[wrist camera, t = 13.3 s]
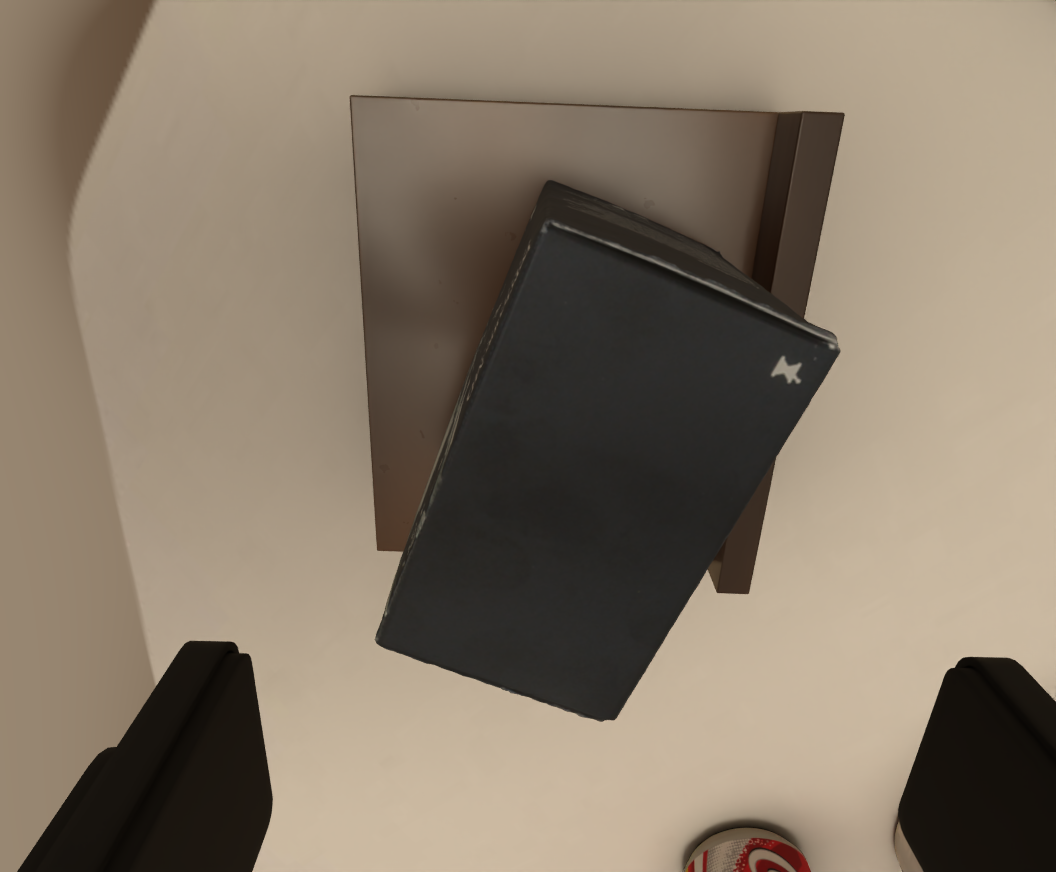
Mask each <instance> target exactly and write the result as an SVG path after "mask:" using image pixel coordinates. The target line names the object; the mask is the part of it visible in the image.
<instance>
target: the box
mask: <svg viewBox="0 0 1056 872" xmlns="http://www.w3.org/2000/svg"><path fill="white" fill-rule="evenodd" d="M839 353H840V348H839V347H838V343H837V338H836V336H835V335H834V334H833V333H832V332H830V331H828V330H825V329H822V328H820V327H817V326H815V325H813V324H811V323H808V322H807V321H806V320H805V319H804V318H802V317H801V316H799V315H798V314H797V313H795V312H794V311H793V310H792V309H791V308H790V307H789V306H787V305H786V304H785V303H783V302H782V301H780V300H779V299H778V298H776V297H775V296H774V295H773V294H771V293H770V292H768V291H767V290H765V289H764V287H762V286H761V285H759V284H758V283H757V282H755V281H754V280H753V279H751V278H750V277H748V276H747V275H746V274H744V273H743V272H742V271H740V270H738V269H737V268H736V267H735V266H734V265H732V264H731V263H730V262H728V261H727V260H726V259H724V258H723V256H722V255H721V254H720V251H718V252H716V251H715V250H714V249H712V248H710V247H708V246H706V245H704V244H701V243H699V242H696V241H695V240H693V239H691V238H689V237H687V236H684V235H682V234H680V233H677V232H675V231H673V230H671V229H669V228H667V227H665V226H663V225H660V224H658V223H655V222H653V221H651V220H649V219H647V218H645V217H642V216H640V215H638V214H636V213H634V212H630V211H627V210H625V209H623V208H620V207H618V206H616V205H614V204H612V203H609V202H607V201H604V200H602V199H599V198H597V197H594V196H592V195H589V194H587V193H584V192H581V191H578V190H575V189H573V188H571V187H569V186H566V185H563V184H560V183H558V182H555V181H553V180H548V181H547V182H546V183H545V185H544V187H543V189H542V191H541V194H540V196H539V198H538V201H537V203H536V206H535V208H534V210H533V212H532V215H531V217H530V220H529V222H528V224H527V226H526V229H525V232H524V234H523V236H522V239H521V241H520V244H519V247H518V249H517V250H516V253H515V256H514V259H513V261H512V263H511V266H510V269H509V271H508V273H507V276H506V278H505V281H504V283H503V286H502V288H501V290H500V293H499V296H498V298H497V301H496V303H495V305H494V308H493V310H492V313H491V315H490V318H489V321H488V323H487V326H486V328H485V330H484V333H483V335H482V338H481V340H480V343H479V345H478V347H477V350H476V353H475V355H474V358H473V361H472V363H471V365H470V368H469V371H468V373H467V376H466V378H465V381H464V384H463V387H462V389H461V392H460V395H459V397H458V400H457V403H456V405H455V408H454V411H453V413H452V416H451V418H450V421H449V424H448V427H447V430H446V432H445V435H444V438H443V440H442V443H441V446H440V449H439V452H438V454H437V457H436V460H435V463H434V466H433V468H432V471H431V474H430V477H429V480H428V482H427V485H426V488H425V491H424V493H423V496H422V499H421V502H420V505H419V507H418V510H417V513H416V516H415V519H414V522H413V525H412V528H411V531H410V534H409V537H408V540H407V543H406V546H405V549H404V551H403V554H402V557H401V560H400V563H399V566H398V570H397V573H396V575H395V578H394V581H393V584H392V588H391V591H390V594H389V597H388V600H387V604H386V607H385V611H384V614H383V617H382V621H381V623H380V626H379V628H378V631H377V634H376V637H375V641H376V643H377V644H378V645H380V646H381V647H383V648H385V649H388V650H391V651H394V652H397V653H399V654H403V655H406V656H408V657H411V658H413V659H416V660H419V661H421V662H424V663H427V664H432V665H436V666H438V667H441V668H443V669H446V670H449V671H452V672H455V673H458V674H460V675H462V676H466V677H470V678H473V679H476V680H479V681H481V682H484V683H486V684H490V685H493V686H496V687H499V688H501V689H503V690H505V691H509V692H510V693H514V694H519V695H521V696H526V697H530V698H532V699H534V700H537V701H539V702H543V703H547V704H548V705H551V706H554V707H558V708H561V709H563V710H565V711H568V712H573V713H576V714H577V715H579V716H580V717H585V718H591V719H595V720H597V721H601V722H603V721H604V720H615V719H616V718H617V716H618V715H619V713H620V711H621V710H622V708H623V707H624V705H625V703H626V701H627V700H628V698H629V696H630V695H631V693H632V692H633V690H634V689H635V687H636V685H637V684H638V682H639V680H640V679H641V677H642V675H643V674H644V673H645V671H646V669H647V667H648V665H649V664H650V662H651V661H652V659H653V658H654V656H655V654H656V652H657V651H658V649H659V648H660V646H661V644H662V643H663V641H664V639H665V638H666V636H667V634H668V632H669V631H670V629H671V628H672V626H673V625H674V623H675V622H676V620H677V618H678V617H679V615H680V613H681V612H682V610H683V609H684V607H685V605H686V604H687V602H688V600H689V598H690V597H691V595H692V594H693V592H694V591H695V589H696V588H697V586H698V584H699V583H700V581H701V579H702V578H703V576H704V574H705V573H706V571H707V569H708V567H709V566H710V564H711V563H712V561H713V560H714V558H715V557H716V555H717V553H718V552H719V550H720V548H721V547H722V545H723V543H724V542H725V540H726V539H727V537H728V535H729V534H730V532H731V531H732V529H733V527H734V526H735V524H736V522H737V521H738V519H739V517H740V516H741V514H742V512H743V511H744V509H745V507H746V506H747V504H748V503H749V501H750V499H751V498H752V496H753V495H754V493H755V491H756V489H757V488H758V486H759V484H760V483H761V481H762V480H763V478H764V476H765V475H766V473H767V472H768V470H769V468H770V467H771V465H772V463H773V462H774V460H775V458H776V456H777V455H778V454H779V452H780V450H781V448H782V447H783V445H784V443H785V442H786V440H787V438H788V437H789V435H790V434H791V432H792V431H793V429H794V427H795V426H796V424H797V423H798V421H799V419H800V418H801V416H802V414H803V413H804V411H805V409H806V408H807V407H808V405H809V403H810V401H811V399H812V397H813V396H814V394H815V393H816V391H817V390H818V388H819V387H820V385H821V383H822V382H823V380H824V379H825V377H826V375H827V374H828V372H829V370H830V368H831V367H832V365H833V363H834V362H835V360H836V358H837V357H838V355H839Z"/></svg>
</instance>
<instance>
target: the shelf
mask: <svg viewBox="0 0 1056 872" xmlns="http://www.w3.org/2000/svg"><path fill="white" fill-rule="evenodd" d="M350 110H351V126H352V143H353V160H354V176H355V193H356V209H357V226H358V243H359V259H360V276H361V292H362V309H363V326H364V342H365V359H366V375H367V392H368V409H369V425H370V442H371V458H372V475H373V492H374V508H375V525H376V541H377V550H378V551H401V552H403V551H404V549H405V546H406V543H407V540H408V537H409V534H410V531H411V528H412V525H413V522H414V519H415V516H416V513H417V510H418V507H419V505H420V502H421V499H422V496H423V493H424V491H425V488H426V485H427V482H428V480H429V477H430V474H431V471H432V468H433V466H434V463H435V460H436V457H437V454H438V452H439V449H440V446H441V443H442V440H443V438H444V435H445V432H446V430H447V427H448V424H449V421H450V418H451V416H452V413H453V411H454V408H455V405H456V403H457V400H458V397H459V395H460V392H461V389H462V387H463V384H464V381H465V378H466V376H467V373H468V371H469V368H470V365H471V363H472V361H473V358H474V355H475V353H476V350H477V347H478V345H479V343H480V340H481V338H482V335H483V333H484V330H485V328H486V326H487V323H488V321H489V318H490V315H491V313H492V310H493V308H494V305H495V303H496V301H497V298H498V296H499V293H500V290H501V288H502V286H503V283H504V281H505V278H506V276H507V273H508V271H509V269H510V266H511V263H512V261H513V259H514V256H515V253H516V250H517V249H518V247H519V244H520V241H521V239H522V236H523V234H524V232H525V229H526V226H527V224H528V222H529V220H530V217H531V215H532V212H533V210H534V208H535V206H536V203H537V201H538V198H539V196H540V194H541V191H542V189H543V187H544V185H545V183H546V182H547V181H548V180H553V181H555V182H558V183H560V184H563V185H566V186H569V187H571V188H573V189H575V190H578V191H581V192H584V193H587V194H589V195H592V196H594V197H597V198H599V199H602V200H604V201H607V202H609V203H612V204H614V205H616V206H618V207H620V208H623V209H625V210H627V211H630V212H634V213H636V214H638V215H640V216H642V217H645V218H647V219H649V220H651V221H653V222H655V223H658V224H660V225H663V226H665V227H667V228H669V229H671V230H673V231H675V232H677V233H680V234H682V235H684V236H687V237H689V238H691V239H693V240H695V241H696V242H699V243H701V244H704V245H706V246H708V247H710V248H712V249H714V250H715V251H716V252H718V251H720V254H721V255H722V256H723V258H724V259H726V260H727V261H728V262H730V263H731V264H732V265H734V266H735V267H736V268H737V269H738V270H740V271H742V272H743V273H744V274H746V275H747V276H748V277H750V278H751V279H753V280H754V281H755V282H757V283H758V284H759V285H761V286H762V287H764V289H765V290H767V291H768V292H770V293H771V294H773V295H774V296H775V297H776V298H778V299H779V300H780V301H782V302H783V303H785V304H786V305H787V306H789V307H790V308H791V309H792V310H793V311H794V312H795V313H797V314H798V315H799V316H801V317H802V318H804V316H805V311H806V306H807V301H808V296H809V291H810V286H811V281H812V276H813V271H814V266H815V261H816V256H817V251H818V246H819V241H820V236H821V231H822V226H823V221H824V216H825V211H826V206H827V201H828V196H829V191H830V186H831V181H832V176H833V171H834V166H835V161H836V156H837V151H838V146H839V141H840V136H841V131H842V126H843V121H844V116H845V115H844V113H838V112H813V111H797V112H758V111H733V110H708V109H683V108H658V107H633V106H609V105H584V104H559V103H534V102H509V101H484V100H460V99H435V98H410V97H385V96H360V95H351V96H350ZM775 460H776V458H775ZM775 460H774V462H773V463H772V465H771V467H770V468H769V470H768V472H767V473H766V475H765V476H764V478H763V480H762V481H761V483H760V484H759V486H758V488H757V489H756V491H755V493H754V495H753V496H752V498H751V499H750V501H749V503H748V504H747V506H746V507H745V509H744V511H743V512H742V514H741V516H740V517H739V519H738V521H737V522H736V524H735V526H734V527H733V529H732V531H731V532H730V534H729V535H728V537H727V539H726V540H725V542H724V543H723V545H722V547H721V548H720V550H719V552H718V553H717V555H716V557H715V558H714V560H713V561H712V563H711V564H710V566H709V567H708V571H709V574H710V576H711V579H712V581H713V584H714V587H715V589H716V592H717V593H732V594H749V590H750V585H751V580H752V575H753V570H754V565H755V560H756V555H757V550H758V545H759V540H760V535H761V530H762V525H763V520H764V515H765V510H766V505H767V500H768V495H769V490H770V485H771V480H772V475H773V470H774V465H775Z"/></svg>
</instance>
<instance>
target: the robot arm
mask: <svg viewBox="0 0 1056 872" xmlns="http://www.w3.org/2000/svg"><path fill="white" fill-rule="evenodd" d="M272 803H273V798H272V789H271V783H270V776H269V770H268V764H267V757H266V751H265V744H264V738H263V731H262V725H261V718H260V712H259V705H258V699H257V692H256V686H255V679H254V673H253V667H252V661H251V657H250V656H249V654H246V653H239V651H238V647H237V645H236V644H235V643H234V642H220V641H189V642H187V643H185V644H184V645H183V647H182V648H181V649H180V651H179V652H178V654H177V655H176V657H175V658H174V660H173V661H172V663H171V664H170V666H169V667H168V669H167V671H166V672H165V674H164V675H163V677H162V678H161V680H160V681H159V683H158V684H157V686H156V687H155V689H154V691H153V692H152V694H151V695H150V697H149V698H148V700H147V702H146V703H145V704H144V706H143V707H142V709H141V711H140V712H139V714H138V715H137V717H136V718H135V720H134V721H133V723H132V724H131V726H130V727H129V729H128V730H127V732H126V734H125V735H124V737H123V738H122V740H121V741H120V743H119V744H118V746H117V747H111V748H107V749H105V750H104V751H102V752H101V753H99V754H98V755H97V756H96V758H95V759H94V760H93V761H92V763H91V764H90V765H89V766H88V768H87V769H86V771H85V772H84V774H83V775H82V777H81V778H80V780H79V781H78V782H77V784H76V786H75V787H74V788H73V790H72V791H71V793H70V794H69V796H68V797H67V799H66V800H65V802H64V803H63V805H62V806H61V808H60V809H59V811H58V812H57V814H56V815H55V817H54V818H53V819H52V821H51V822H50V824H49V826H48V827H47V828H46V830H45V831H44V833H43V834H42V836H41V837H40V839H39V840H38V842H37V843H36V845H35V846H34V848H33V849H32V851H31V852H30V854H29V855H28V856H27V858H26V859H25V861H24V863H23V864H22V865H21V867H20V868H19V870H18V871H17V872H252V871H253V868H254V865H255V862H256V860H257V857H258V854H259V851H260V848H261V846H262V843H263V840H264V837H265V835H266V832H267V829H268V826H269V822H270V818H271V813H272ZM898 817H899V823H900V827H901V830H902V832H903V835H904V837H905V839H906V841H907V843H908V844H909V846H910V848H911V850H912V852H913V854H914V855H915V857H916V859H917V861H918V863H919V865H920V866H921V868H922V870H923V872H1056V702H1055V701H1054V700H1053V698H1052V697H1051V696H1050V695H1049V694H1048V693H1047V692H1046V691H1045V690H1044V689H1043V688H1042V687H1041V686H1040V685H1039V684H1038V682H1037V681H1036V680H1035V679H1034V678H1033V677H1032V676H1031V675H1030V674H1029V673H1028V672H1027V671H1026V670H1025V669H1024V668H1023V666H1021V665H1020V664H1019V663H1018V662H1016V661H1015V660H1013V659H1010V658H993V657H965V658H962V659H961V660H960V661H958V663H957V665H956V667H955V668H951V669H949V670H948V671H947V672H946V674H945V676H944V679H943V682H942V685H941V688H940V690H939V693H938V696H937V699H936V702H935V705H934V707H933V710H932V713H931V716H930V719H929V722H928V724H927V727H926V730H925V733H924V736H923V739H922V741H921V744H920V747H919V750H918V753H917V756H916V758H915V761H914V764H913V767H912V770H911V773H910V775H909V778H908V781H907V784H906V787H905V789H904V792H903V795H902V798H901V801H900V804H899V809H898Z"/></svg>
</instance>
